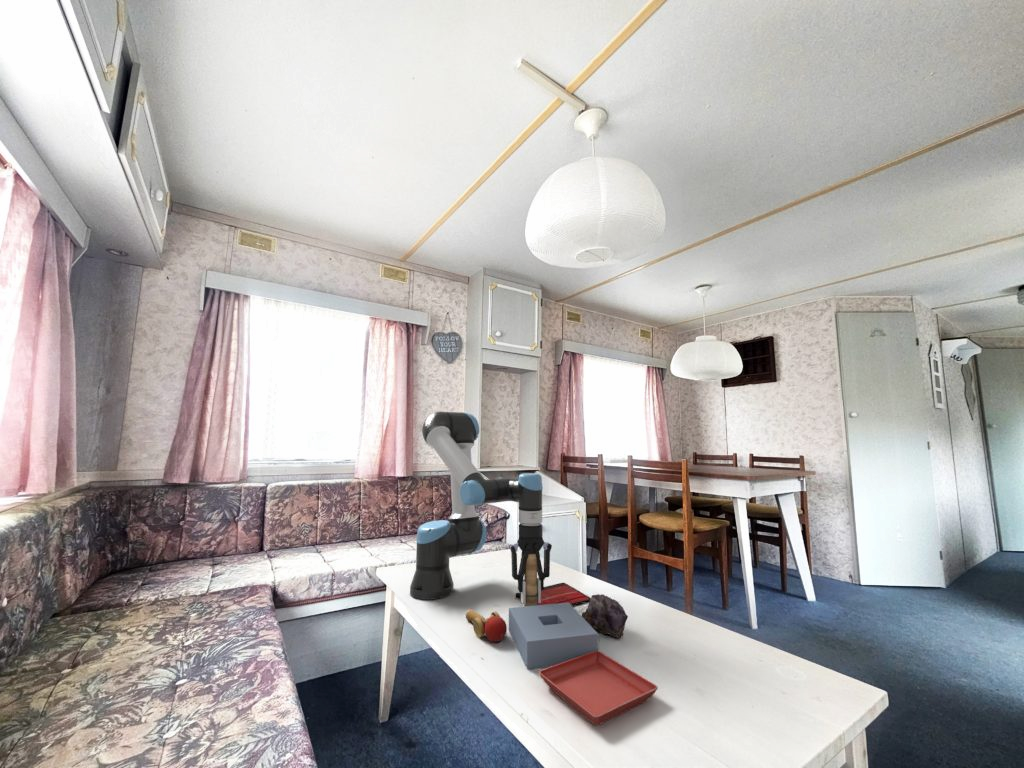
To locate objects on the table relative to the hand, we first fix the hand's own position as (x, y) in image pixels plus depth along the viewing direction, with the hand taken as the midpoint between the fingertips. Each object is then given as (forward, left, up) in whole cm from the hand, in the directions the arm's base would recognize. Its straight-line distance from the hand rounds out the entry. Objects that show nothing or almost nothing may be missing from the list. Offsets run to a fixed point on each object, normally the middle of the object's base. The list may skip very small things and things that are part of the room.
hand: (530, 601), depth 125 cm
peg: (0, 0, -4) cm, 4 cm away
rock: (+15, +18, -4) cm, 24 cm away
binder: (-10, +11, -4) cm, 16 cm away
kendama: (+8, -16, -4) cm, 18 cm away
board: (+19, 0, -4) cm, 19 cm away
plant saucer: (+41, +3, -4) cm, 41 cm away
